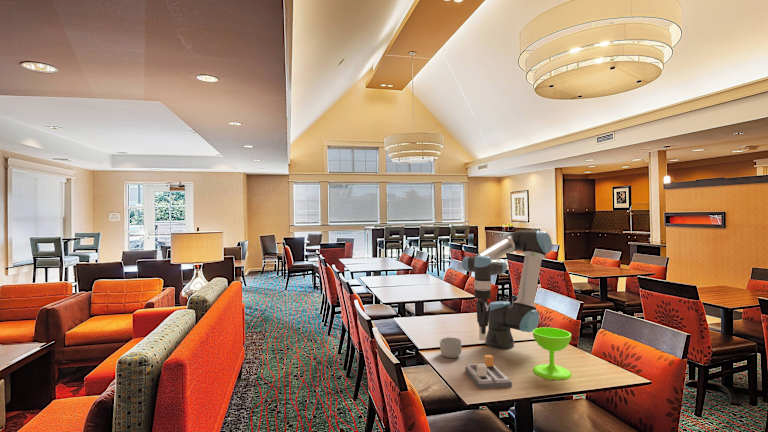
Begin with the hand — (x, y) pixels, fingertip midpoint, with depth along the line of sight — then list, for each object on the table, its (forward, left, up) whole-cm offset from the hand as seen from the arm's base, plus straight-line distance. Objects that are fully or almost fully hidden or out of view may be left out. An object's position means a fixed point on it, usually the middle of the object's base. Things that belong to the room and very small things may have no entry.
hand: (482, 339), depth 182 cm
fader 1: (+7, +17, -10) cm, 21 cm away
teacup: (+11, -17, -13) cm, 24 cm away
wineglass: (-28, +10, -13) cm, 33 cm away
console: (+3, +13, -13) cm, 18 cm away
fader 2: (0, +7, -10) cm, 12 cm away
